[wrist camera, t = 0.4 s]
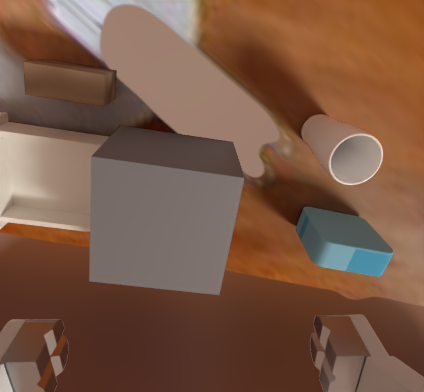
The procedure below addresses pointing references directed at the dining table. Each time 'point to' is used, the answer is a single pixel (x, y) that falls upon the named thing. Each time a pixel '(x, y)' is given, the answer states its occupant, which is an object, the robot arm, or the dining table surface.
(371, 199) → the dining table surface
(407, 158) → the dining table surface
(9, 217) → the drawer
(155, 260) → the cabinet
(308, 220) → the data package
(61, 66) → the walnut block
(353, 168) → the drinking glass
